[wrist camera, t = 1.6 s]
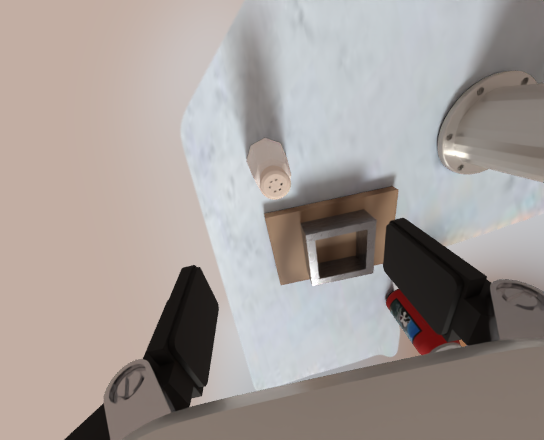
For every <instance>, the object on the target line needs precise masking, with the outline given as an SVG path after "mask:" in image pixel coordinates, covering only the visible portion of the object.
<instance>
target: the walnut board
mask: <svg viewBox="0 0 544 440" xmlns="http://www.w3.org/2000/svg"><path fill="white" fill-rule="evenodd" d="M397 198H398V189H396V188H395V187H393V186H391V187H386V188H382V189H377V190H372V191H368V192H363V193H358V194H354V195H349V196H345V197H340V198H335V199H331V200H326V201H321V202H317V203H312V204H307V205H303V206H298V207H293V208H289V209H284V210H279V211H275V212H270V213H266V214H264V215H265V221H266V225H267V229H268V233H269V237H270V242H271V246H272V250H273V254H274V259H275V263H276V267H277V271H278V275H279V280H280V284H281V285H284V284H289V283H294V282H298V281H303V280H308V279H310V278H309V275H308V272H307V267H306V260H305V253H304V246H303V239H302V232H301V225H300V223H302V222H307V221H312V220H316V219H321V218H326V217H330V216H335V215H340V214H344V213H349V212H354V211H358V210H363V209H365V210H366V211H367V212H368V213H369V214H370V215H371V216H373V217H374V218H375V219H376V220H377V223H376V238H375V253H374V265H378V264H383V260H384V247H385V234H386V226H387V225H388V224H389V222H390V221H391V220H395V215H396V206H397ZM315 244H316V254H317V263H322V262H327V261H332V260H336V259H341V258H346V257H350V256H355V255H356V232H353V233H348V234H343V235H339V236H334V237H329V238H325V239H320V240H315Z"/></svg>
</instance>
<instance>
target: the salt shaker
mask: <svg viewBox="0 0 544 440" xmlns="http://www.w3.org/2000/svg"><path fill="white" fill-rule="evenodd" d="M247 163H248V166H249V168H250V171H251V173H252V175H253V177H254V179H255V181H256V183H257V185H258V187H259V188H260V190H261V192H262V194H263V195H264V196H266V197H267V198H270V199H280V198H282V197H284V196H285V195H286V194H287V193H288V192H289V190H290V187H291V181H290V177H291V172H290V168H289V164H288V160H287V157H286V155H285V152H284V150H283V148H282V146H281V144H280V143H279V142H276V141H273V140H270V139H267V138H264V139H262V140H260V141H258V142H256V143H254V144H253V145H251V147H250V150H249V154H248V158H247Z"/></svg>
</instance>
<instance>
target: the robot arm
mask: <svg viewBox="0 0 544 440" xmlns="http://www.w3.org/2000/svg"><path fill="white" fill-rule="evenodd" d="M438 155H439V158H440V160H441V162H442V164H443V165H444V166H445V167H446V168H447V169H449V170H451V171H453V172H456V173H460V174H475V173H480V172H482V171H485V170H488V169H491V170H495V171H499V172H503V173H507V174H511V175H515V176H519V177H523V178H527V179H531V180H535V181H539V182H543V183H544V83H540V84H537V82H536V80H535V79H534V78H533V77H532V76H531V75H529V74H527V73H525V72H522V71H507V72H501V73H496V74H493V75H491V76H488V77H486V78H484V79H482V80H481V81H479V82H477V83H476V84H474V85H473V86H472V87H471V88H469V89H468V90H467V91H466V92H465V93H464V94H463V95H462V96H461V97H460V98H459V99H458V100H457V101H456V103H455V104H454V105H453V107H452V108H451V109H450V111H449V113H448V114H447V116H446V118H445V120H444V122H443V124H442V127H441V129H440V133H439V137H438ZM383 268H384V271H385V272H386V274H387V275H388V276H389V277H390V279H391V280H392V281H393V282H394V283H395V285H396V286H397V287H398V288H399V289H400V291H401V292H402V293H403V294H404V295H405V297H406V298H407V299H408V300H409V301H410V303H411V304H412V305H413V306H414V308H415V309H416V310H417V311H418V312H419V314H420V315H421V316H422V317H423V318H424V320H425V321H426V322H427V323H428V324H429V326H430V327H431V328H432V329H433V330H434V331H435V333H437V334H438V335H442V336H443V338H444V339H445V340H446V341H447V342H452V341H456V340H461V339H462V341H463V342H464V343H465V344H466V345H467V346H465V347H459V348H454V349H449V350H444V351H439V352H434V353H430V354H425V355H420V356H415V357H411V358H406V359H401V360H397V361H392V362H387V363H382V364H378V365H373V366H369V367H364V368H359V369H355V370H350V371H346V372H341V373H336V374H332V375H327V376H323V377H318V378H313V379H309V380H304V381H300V382H296V383H292V384H286V385H282V386H277V387H273V388H268V389H264V390H260V391H255V392H251V393H246V394H242V395H237V396H233V397H229V398H225V399H221V400H217V401H212V402H208V403H204V404H200V405H196V406H192V407H189V406H190V402H191V398H195V397H200V396H202V393H203V387H204V386H206V385H207V382H208V376H209V370H210V363H211V357H212V350H213V343H214V336H215V331H216V324H217V317H218V311H219V307H218V302H217V300H216V298H215V296H214V294H213V292H212V290H211V288H210V286H209V284H208V282H207V280H206V278H205V276H204V274H203V272H202V270H201V268H200V267H196V266H195V265H193V266H189V267H184V268H182V269H181V272H180V274H179V277H178V279H177V281H176V284H175V286H174V289H173V291H172V293H171V296H170V298H169V300H168V301H167V303H166V305H165V308H164V310H163V312H162V315H161V317H160V320H159V322H158V324H157V327H156V329H155V331H154V334H153V336H152V339H151V341H150V343H149V346H148V348H147V351H146V353H145V355H144V357H143V359H139V360H135V361H133V362H130V363H129V364H128V365H126V366H124V367H123V368H122V369H121V370H120V371H119V372H118V373H117V374H116V375H115V376H114V378H113V379H112V380H111V382H110V383H109V385H108V387H107V389H106V391H105V394H104V403H103V404H102V405H101V406H100V407H99V408H98V409H97V410H96V411H95V412H94V413H93V414H92V415H91V416H89V417H88V418H87V419H86V420H85V421H84V422H83V423H82V424H81V425H80V426H79V427H77V428H76V429H75V430H74V431H73V432H72V433H71V434H70V435H69V436H68V437H67V438H66V439H65V440H544V291H542V290H540V289H538V288H536V287H534V286H532V285H529V284H527V283H523V282H520V281H516V280H509V279H503V280H502V279H500V280H496V281H494V282H493V283H491V282H489V281H488V280H487V279H486V278H487V276H485V275H484V274H483V273H481V272H480V271H478V270H477V269H476V268H474V267H473V266H471V265H470V264H469V263H467V262H465V261H464V260H463V259H461V258H460V257H459V256H457V255H456V254H454V253H453V252H451V251H450V250H449V249H447V248H446V247H445V246H443V245H442V244H440V243H439V242H437V241H436V240H435V239H433V238H432V237H430V236H429V235H428V234H426V233H425V232H423V231H422V230H420V229H419V228H418V227H416V226H415V225H413V224H412V223H411V222H409V221H408V220H406V219H405V218H400V219H396V220H391V221H390V222H389V224H388V225H387V226H386V234H385V247H384V260H383Z"/></svg>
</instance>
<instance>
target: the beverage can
mask: <svg viewBox="0 0 544 440" xmlns="http://www.w3.org/2000/svg"><path fill="white" fill-rule="evenodd" d="M386 305H387V307H388V309H389V310H390V312H391V313H392V315H393V316H394V318H395V319H396V321H397V322H398V323H399V325H400V326H401V328H402V329H403V331H404V332H405V334H406V335H407V336H408V338H409V339H410V341H411V342H412V344H413V345H414V346H415V348H416V349H417V351H418V352H419V353H420V354H421V355H425V354H430V353H434V352H439V351H444V350H449V349H454V348H459V347H461V345H460V342H459V340H456V341H452V342H447V341H446V340H445V339H444V338H443V336H442V335H438V334H437V333H435V331H434V330H433V329H432V328H431V327H430V326H429V324H428V323H427V322H426V321H425V320H424V318H423V317H422V316H421V315H420V314H419V312H418V311H417V310H416V309H415V308H414V306H413V305H412V304H411V303H410V301H409V300H408V299H407V298H406V297H405V295H404V294H403V293H402V292H401V291H400V289H397V290H395V291H393V292H392V293H391V294H390V295H389V297H388V298H387V301H386Z"/></svg>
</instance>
